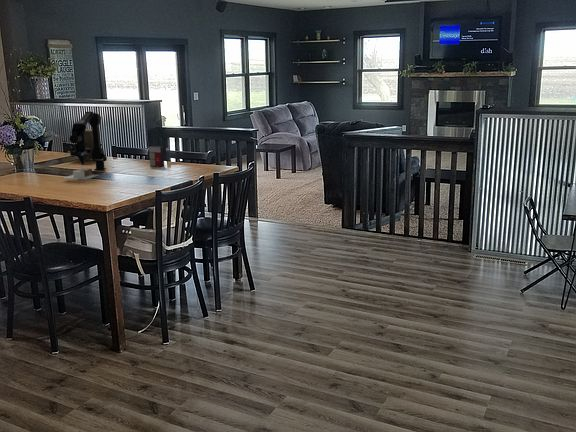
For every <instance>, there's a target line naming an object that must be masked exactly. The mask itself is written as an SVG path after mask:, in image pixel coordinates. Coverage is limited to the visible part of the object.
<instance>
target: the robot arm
mask: <svg viewBox="0 0 576 432" xmlns="http://www.w3.org/2000/svg"><path fill="white" fill-rule="evenodd" d="M101 121H102V116H101V115H100V114H98V113H96V112H94V111H88V110H87V111H85V113H84V114H83V116H81V118H80V120H78V121H75V122H74V123H73V124H72V129H71V135H70V136H69V142H70V143H71V144H74V145H73V146H72V145H69V146H67V152H69V154H70V157H77V158H78V160H79V161H80V164H81V166H84V165H85V163H86V160H87V159H86V158H87V156H88V154H87V153H86V152H88V153H92V159H93V160H92V161H93V162H95V168H94V170H95V171H104V170H107V167H105V162H107V160H108V159H107V158H108V157H107V155H106V154H105V151H104V149H103V147H102V145H101V134H100V125H101V123H102V122H101ZM87 124H89V125H90V127H91V129H92V134H93V144H94V148H93V150H92V149H89V148H86V145H87V143H85V134H86V133H85V130H86V129H87Z"/></svg>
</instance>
